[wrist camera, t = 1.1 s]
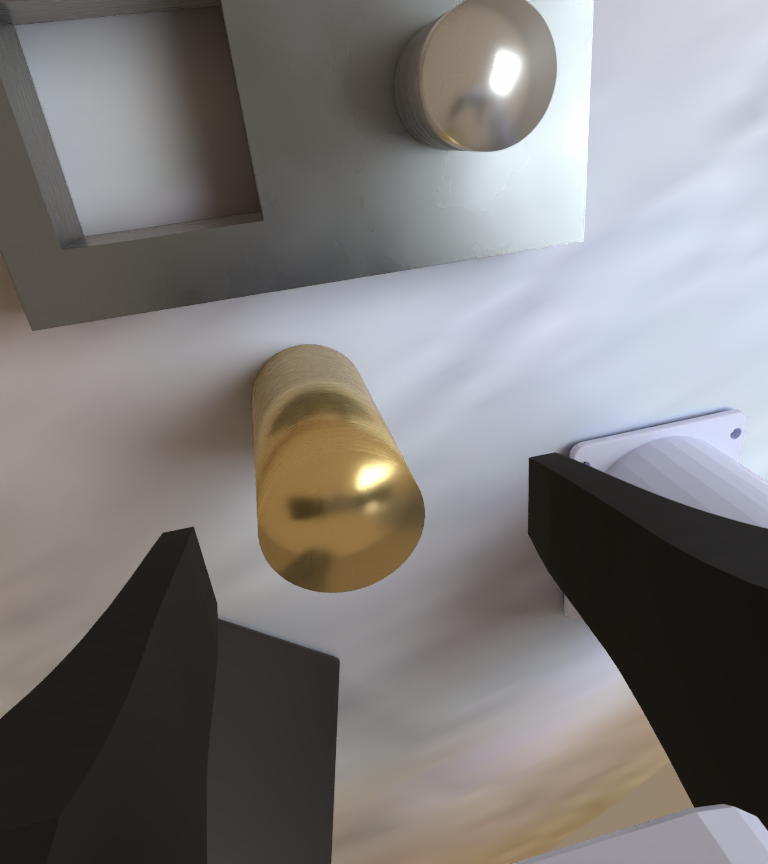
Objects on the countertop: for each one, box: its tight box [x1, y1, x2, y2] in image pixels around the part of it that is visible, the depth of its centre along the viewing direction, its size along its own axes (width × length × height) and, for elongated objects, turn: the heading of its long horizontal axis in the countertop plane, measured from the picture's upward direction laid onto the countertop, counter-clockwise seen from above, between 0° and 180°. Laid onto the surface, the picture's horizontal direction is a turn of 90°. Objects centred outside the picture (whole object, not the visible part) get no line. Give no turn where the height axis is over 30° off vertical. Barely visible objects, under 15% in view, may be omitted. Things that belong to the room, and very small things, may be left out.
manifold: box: [0, 0, 594, 331], centre depth 15 cm, size 9×16×6 cm, turn 97°
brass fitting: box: [252, 345, 425, 593], centre depth 18 cm, size 4×4×8 cm
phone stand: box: [207, 619, 340, 864], centre depth 21 cm, size 9×6×12 cm, turn 146°
